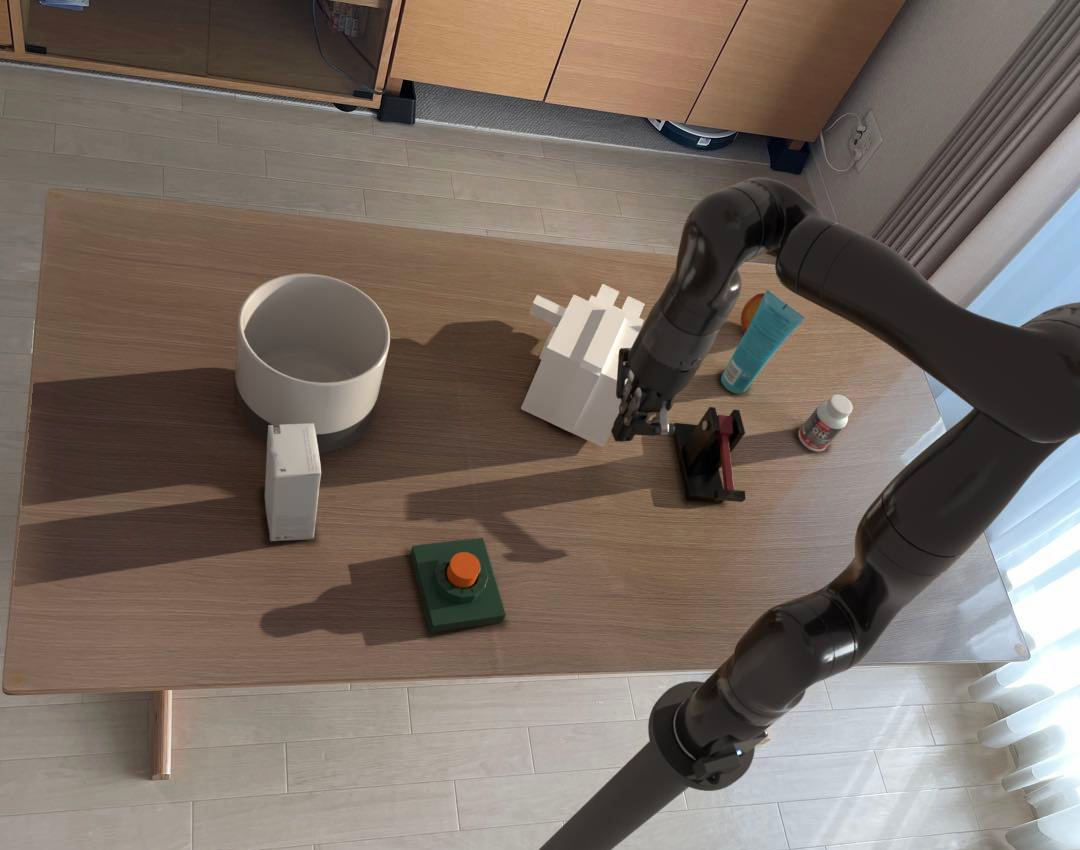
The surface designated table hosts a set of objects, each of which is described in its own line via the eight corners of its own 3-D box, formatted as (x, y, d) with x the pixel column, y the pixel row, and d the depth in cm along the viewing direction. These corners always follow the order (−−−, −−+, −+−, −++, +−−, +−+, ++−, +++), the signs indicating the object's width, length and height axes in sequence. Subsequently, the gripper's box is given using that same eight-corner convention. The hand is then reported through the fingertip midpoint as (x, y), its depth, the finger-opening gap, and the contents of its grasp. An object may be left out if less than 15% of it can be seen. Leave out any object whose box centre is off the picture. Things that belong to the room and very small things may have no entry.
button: (479, 586, 132) (483, 576, 130) (450, 590, 130) (454, 580, 128) (471, 560, 133) (476, 550, 131) (443, 563, 132) (446, 553, 130)
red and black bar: (740, 503, 149) (747, 497, 146) (712, 501, 147) (719, 495, 145) (731, 423, 153) (738, 416, 151) (704, 420, 152) (711, 413, 150)
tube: (756, 387, 173) (811, 309, 157) (745, 402, 170) (800, 325, 154) (720, 363, 173) (771, 283, 158) (709, 378, 171) (759, 298, 155)
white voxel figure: (671, 362, 173) (632, 469, 154) (540, 300, 172) (485, 400, 154) (707, 297, 162) (670, 404, 143) (567, 231, 161) (512, 330, 143)
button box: (502, 622, 134) (509, 608, 131) (429, 633, 130) (435, 619, 127) (479, 545, 139) (486, 530, 136) (409, 553, 136) (414, 538, 132)
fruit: (781, 336, 182) (802, 305, 175) (758, 356, 177) (779, 325, 171) (748, 309, 183) (767, 278, 177) (724, 328, 179) (744, 296, 172)
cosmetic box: (313, 540, 133) (325, 476, 121) (266, 542, 130) (273, 478, 119) (306, 487, 137) (317, 421, 125) (261, 489, 135) (267, 422, 123)
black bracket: (721, 503, 156) (755, 459, 147) (686, 500, 154) (718, 456, 145) (704, 431, 163) (736, 385, 154) (671, 428, 162) (700, 381, 152)
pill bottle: (799, 448, 167) (828, 412, 159) (795, 423, 170) (824, 387, 163) (828, 455, 168) (859, 419, 161) (824, 430, 171) (854, 394, 164)
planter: (355, 356, 152) (372, 271, 138) (385, 459, 143) (405, 380, 129) (223, 363, 144) (226, 274, 130) (245, 473, 135) (251, 390, 121)
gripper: (623, 294, 109) (575, 395, 123) (664, 390, 103) (609, 484, 117) (683, 293, 112) (629, 392, 126) (727, 386, 106) (665, 479, 119)
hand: (620, 436), depth 121 cm, fingers closed
